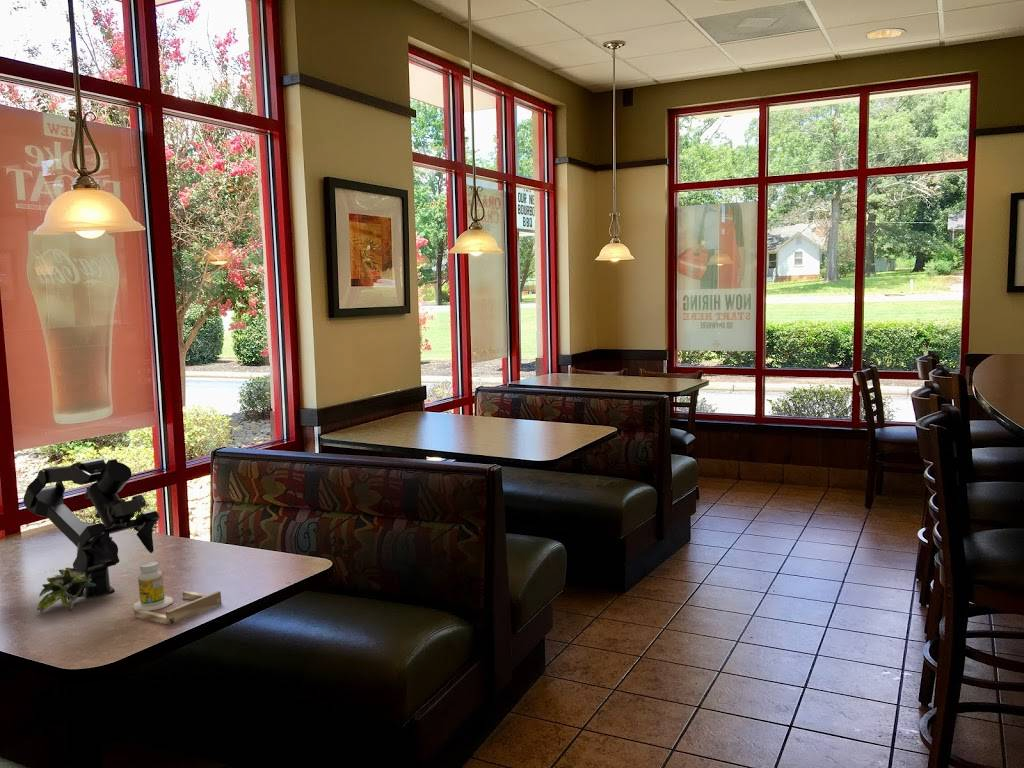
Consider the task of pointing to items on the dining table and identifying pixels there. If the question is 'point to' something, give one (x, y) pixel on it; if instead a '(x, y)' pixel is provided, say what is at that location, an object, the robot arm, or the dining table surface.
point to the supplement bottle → (151, 584)
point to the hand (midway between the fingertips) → (135, 557)
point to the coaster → (149, 608)
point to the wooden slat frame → (183, 608)
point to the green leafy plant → (64, 588)
